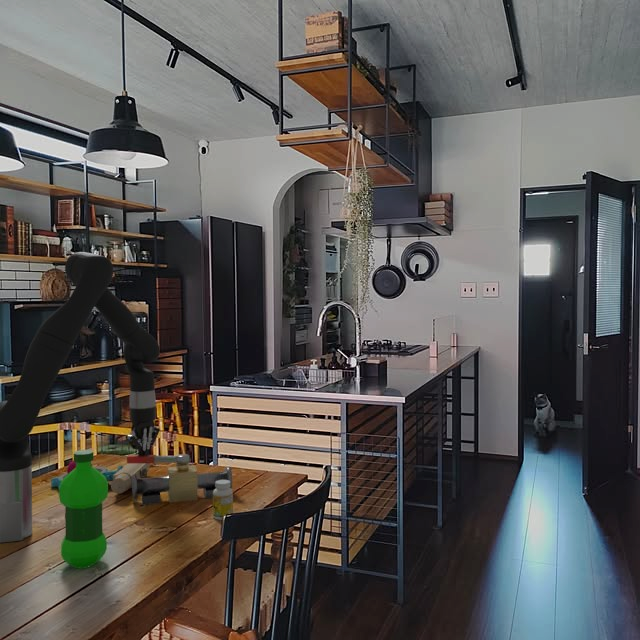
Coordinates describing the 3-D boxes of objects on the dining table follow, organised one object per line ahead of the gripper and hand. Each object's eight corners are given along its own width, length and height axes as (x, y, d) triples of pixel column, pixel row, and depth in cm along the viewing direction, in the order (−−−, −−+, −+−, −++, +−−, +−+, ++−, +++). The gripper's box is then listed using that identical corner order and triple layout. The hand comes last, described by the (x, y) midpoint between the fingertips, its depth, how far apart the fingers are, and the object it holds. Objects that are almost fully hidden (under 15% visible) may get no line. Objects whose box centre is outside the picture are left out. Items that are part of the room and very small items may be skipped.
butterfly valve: (33, 508, 179) (134, 498, 178) (30, 485, 178) (131, 475, 178) (72, 481, 205) (160, 472, 205) (69, 461, 205) (157, 452, 204)
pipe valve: (228, 489, 189) (228, 457, 188) (232, 496, 182) (232, 463, 182) (132, 498, 180) (132, 464, 179) (132, 506, 173) (132, 471, 173)
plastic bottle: (67, 554, 141) (66, 446, 140) (114, 553, 141) (113, 446, 141) (51, 574, 131) (50, 458, 130) (102, 572, 131) (101, 457, 131)
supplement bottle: (235, 518, 164) (235, 483, 164) (215, 521, 162) (215, 485, 162) (229, 512, 169) (229, 477, 169) (210, 514, 167) (210, 480, 167)
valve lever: (190, 460, 182) (190, 454, 182) (187, 464, 178) (187, 457, 178) (130, 460, 182) (130, 453, 182) (126, 464, 178) (126, 457, 178)
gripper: (136, 410, 175) (137, 469, 176) (167, 402, 187) (167, 457, 188) (117, 407, 178) (118, 466, 179) (147, 400, 190) (148, 454, 191)
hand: (143, 461), depth 184 cm, fingers closed
